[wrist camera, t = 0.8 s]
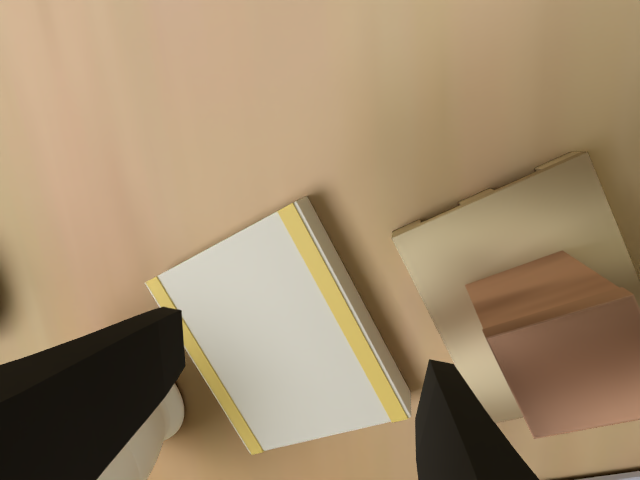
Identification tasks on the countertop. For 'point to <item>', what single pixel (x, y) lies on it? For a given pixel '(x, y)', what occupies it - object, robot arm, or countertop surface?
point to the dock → (283, 334)
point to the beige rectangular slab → (509, 257)
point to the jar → (147, 441)
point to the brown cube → (563, 343)
